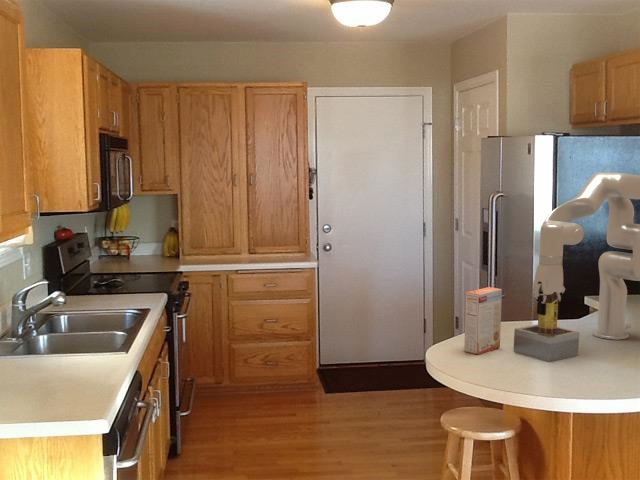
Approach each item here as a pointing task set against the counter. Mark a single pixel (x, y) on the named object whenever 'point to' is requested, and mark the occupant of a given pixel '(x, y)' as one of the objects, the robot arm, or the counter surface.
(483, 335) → the cracker box
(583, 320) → the counter surface
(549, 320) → the sauce bottle
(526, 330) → the grey square tray
